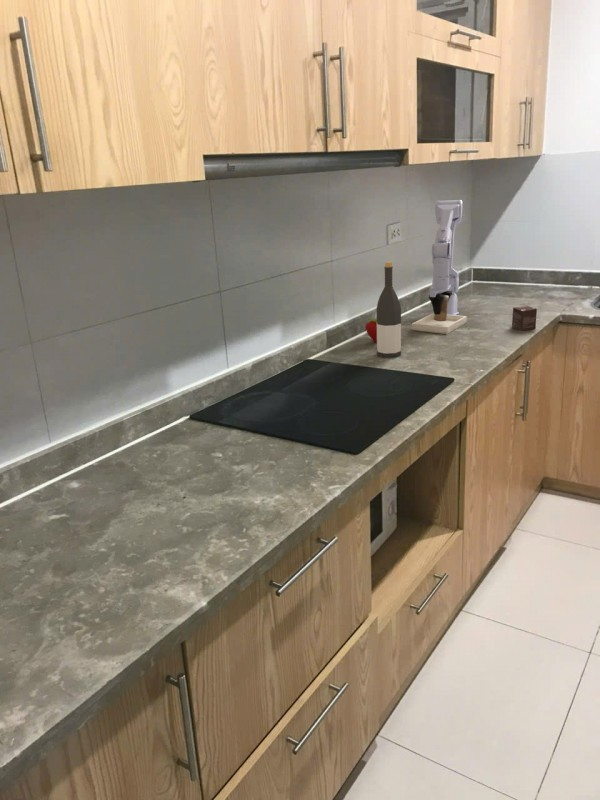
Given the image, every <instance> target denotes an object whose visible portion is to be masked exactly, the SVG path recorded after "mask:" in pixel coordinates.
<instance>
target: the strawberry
mask: <svg viewBox="0 0 600 800" xmlns="http://www.w3.org/2000/svg"><path fill="white" fill-rule="evenodd" d="M368 320H369V321H368V322H367V323H365V326H364V327H365V331H366V333H367V334H368V336H369V338H370V339H371V340H372V342H373V343H376V344H377V318H376V319H375V318H371V319H368Z"/></svg>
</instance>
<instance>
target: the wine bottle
mask: <svg viewBox="0 0 600 800" xmlns="http://www.w3.org/2000/svg"><path fill="white" fill-rule="evenodd" d="M384 264H385V265H384V267H383V268H384V287H383V289H382V291H381V293H380V295H379V297H378V301H377V304H376V320H377V343H376V352H377V357H379V358H384V359H394V358H397V357H400V356H401V355H402V307H401V302H400V300H399V298H398V297H399V296H398V295H397V293H396V291H395V290H394V286H393V268H394V267H393V266H392V265H393V262H392V261H385V263H384Z"/></svg>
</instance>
